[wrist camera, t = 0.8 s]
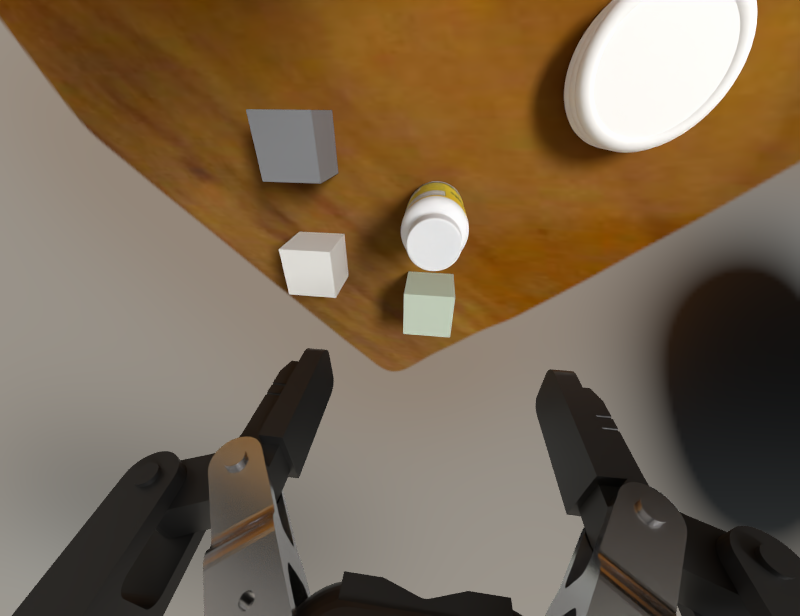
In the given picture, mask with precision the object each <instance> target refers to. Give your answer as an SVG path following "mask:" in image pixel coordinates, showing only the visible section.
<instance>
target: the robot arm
mask: <svg viewBox="0 0 800 616" xmlns="http://www.w3.org/2000/svg"><path fill="white" fill-rule="evenodd" d="M332 389H333V373H332V367H331V362H330V357H329V352H328V351H327V350H322V349H310V348H308V349H306V350H305V351H304V353H303V355H302V357H301V358H300V360H299V362H298V361H291V362H290V363H289V364H288V365H286V366H285V367H284V368H283V369H282V370H281V371H280V372H279V374H278V376H277V377H276V379H275V380H274V382H273V385H271V387H270V389H269V390H268V392H267V395H265V397H264V399H263V400H262V402H261V404H260V405H259V407H258V408H257V410H256V412H255V413H254V415H253V416H252V418H251V420H250V422H249V423H248V425H247V426H246V428H245V430H244V431H243V433H242V434H241V435H240V437H239V438H236V439H233V440H231V441H229V442H227V443H226V444H225V445H223V446H222V447H221V448H220V449H219V450H218V451H217V452H216V453H214V454H210V455H205V456H200V457H195V458H190V459H185V460H180V459H179V458H178V457H177V456H176V455H175V454H174V453H172V452H168V451H164V452H157V453H154V454H152V455H149V456H147V457H145V458H143V459H142V460H140V461H139V462H137V463H136V464H135V465H133V466H132V467H131V468H130V469H129V470H128V471H127V472H126V473H125V475H124V476H123V477H122V478H121V479H120V481H119V482H118V483H117V485H116V486H115V487H114V488H113V489H112V491H111V492H110V493H109V494H108V496H107V497H106V498H105V499H104V501H103V502H102V503H101V504H100V506H99V507H98V508H97V510H96V511H95V512H94V513H93V515H92V516H91V517H90V518H89V519H88V521H87V522H86V523H85V525H84V526H83V527H82V528H81V530H80V531H79V532H78V533H77V535H76V536H75V537H74V538H73V540H72V541H71V542H70V544H69V545H68V546H67V547H66V548H65V550H64V551H63V552H62V553H61V555H60V556H59V557H58V558H57V560H56V561H55V562H54V563H53V565H52V566H51V567H50V568H49V570H48V571H47V572H46V573H45V575H44V576H43V577H42V578H41V580H40V581H39V582H38V583H37V585H36V586H35V587H34V588H33V590H32V591H31V592H30V593H29V595H28V596H27V597H26V598H25V600H24V601H23V602H22V603H21V605H20V606H19V607H18V608H17V610H16V611H15V612H14V614H13V615H12V616H163V614H164V613H165V611H166V609H167V607H168V605H169V603H170V601H171V599H172V597H173V595H174V593H175V591H176V589H177V587H178V585H179V583H180V581H181V579H182V577H183V575H184V573H185V571H186V569H187V567H188V565H189V563H190V561H191V559H192V557H193V555H194V553H195V551H196V549H197V547H198V545H199V543H200V541H201V539H202V537H203V535H204V533H205V531H206V530H208V529H211V547H210V549H209V550H207V551H206V553H205V556H204V561H203V585H204V616H522V615H520V614H519V613H517V612H515V611H514V610H513V609H512V602H511V598H508V597H502V596H496V595H489V594H483V593H477V592H471V591H466V592H462V593H456V594H451V595H447V596H442V597H436V598H431V599H423V598H420V597H418V596H416V595H415V594H413V593H411V592H409V591H407V590H406V589H404V588H402V587H400V586H398V585H396V584H394V583H393V582H391V581H389V580H387V579H385V578H383V577H376V576H369V575H364V574H358V573H351V572H344V575H343V580H342V582H338V583H334V584H332V585H329V586H326V587H324V588H322V589H321V590H319V591H317V592H315V593H314V594H313V595H310V591H309V587H308V583H307V579H306V575H305V572H304V568H303V565H302V562H301V559H300V556H299V553H298V550H297V546H296V543H295V538H294V534H293V530H292V526H291V522H290V518H289V514H288V509H287V505H286V501H285V497H284V493H283V487H284V485H285V482H286V480H287V478H288V477H293V478H299V476H300V474H301V471H302V468H303V466H304V463H305V460H306V458H307V455H308V453H309V450H310V447H311V445H312V442H313V440H314V437H315V434H316V432H317V429H318V427H319V424H320V421H321V419H322V416H323V413H324V411H325V409H326V406H327V403H328V401H329V398H330V396H331V393H332ZM536 413H537V417H538V420H539V423H540V427H541V430H542V433H543V437H544V440H545V443H546V446H547V450H548V453H549V457H550V460H551V463H552V467H553V470H554V473H555V477H556V480H557V483H558V486H559V490H560V493H561V496H562V500H563V503H564V506H565V510H566V513H567V514H568V515H576V516H581V518H582V521H583V524H584V528H583V530H582V532H581V535H580V537H579V540H578V543H577V545H576V548H575V550H574V553H573V555H572V558H571V561H570V563H569V566H568V568H567V571H566V573H565V576H564V579H563V581H562V584H561V586H560V589H559V591H558V593H557V594H556V596H555V598H554V599H553V601H552V603H551V604H550V606H549V608H548V610H547V613H546V615H545V616H676V612H677V606H678V608H679V611H680V613H681V615H682V616H800V558H799V557H798V556H797V555H796V554H795V553H794V552H793V551H792V550H791V549H789V548H788V547H787V546H786V545H784V544H783V543H782V542H780V541H779V540H777V539H776V538H774V537H772V536H771V535H769V534H767V533H765V532H763V531H761V530H758V529H756V528H753V527H749V526H737V527H735V528H733V529H731V530H730V531H728V532H725V531H723V530H720V529H718V528H716V527H713V526H711V525H709V524H706V523H704V522H701V521H699V520H696V519H694V518H692V517H689V516H687V515H685V514H683V513H681V512H679V511H678V509H677V508H676V506H675V505H674V504H673V503H672V502H671V501H670V500H669V499H668V498H667V497H666V496H664V495H663V494H662V493H661V492H659V491H658V490H656V489H654V488H652V487H651V486H649V485H648V483H647V482H646V480H645V478H644V477H643V475H642V473H641V471H640V469H639V467H638V466H637V463H636V462H635V460H634V458H633V456H632V454H631V452H630V450H629V449H628V447H627V445H626V443H625V441H624V439H623V437H622V435H621V434H620V432H618V430H617V429H618V428H617V426H616V424H615V423H614V421H613V419H611V415H610V413H609V411H608V410H607V408H606V406H605V404H604V402H603V401H602V400H601V399H600V398H599V397H598V396H597V395H596V394H595V393H594V392H593V391H592V390H591V389H590V388H583V387H582V385H581V383H580V381H579V379H578V377H577V375H576V374H575V373H574V372H572V371H562V370H548V371H547V373H546V375H545V378H544V380H543V383H542V385H541V388H540V390H539V393H538V395H537V398H536Z"/></svg>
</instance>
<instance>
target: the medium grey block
mask: <svg viewBox="0 0 800 616" xmlns="http://www.w3.org/2000/svg"><path fill="white" fill-rule="evenodd" d="M246 112H247V116H248V120H249V125H250V129H251V133H252V137H253V142H254V146H255V150H256V155H257V159H258V163H259V167H260V172H261V176H262V180H263V182H291V183H320V184H321V183H322V182H324V181H326V180H328V179H329V178H331V177H333V176H334V175H336V174H338V166H337V156H336V146H335V136H334V126H333V116H332V110H261V109H246Z"/></svg>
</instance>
